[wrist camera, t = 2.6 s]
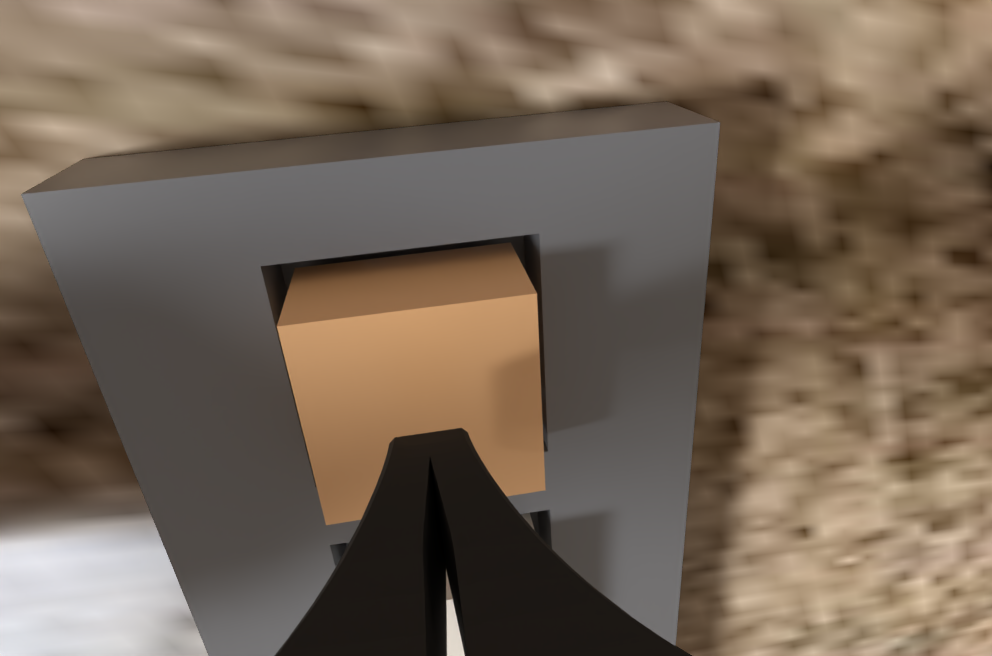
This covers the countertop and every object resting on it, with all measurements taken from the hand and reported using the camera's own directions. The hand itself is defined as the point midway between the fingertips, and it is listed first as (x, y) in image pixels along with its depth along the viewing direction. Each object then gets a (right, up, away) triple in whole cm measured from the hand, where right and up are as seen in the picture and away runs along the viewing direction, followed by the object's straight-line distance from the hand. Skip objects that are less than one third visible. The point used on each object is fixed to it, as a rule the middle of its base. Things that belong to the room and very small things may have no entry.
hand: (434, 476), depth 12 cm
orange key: (-1, +3, +5) cm, 6 cm away
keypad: (-1, -4, +10) cm, 11 cm away
